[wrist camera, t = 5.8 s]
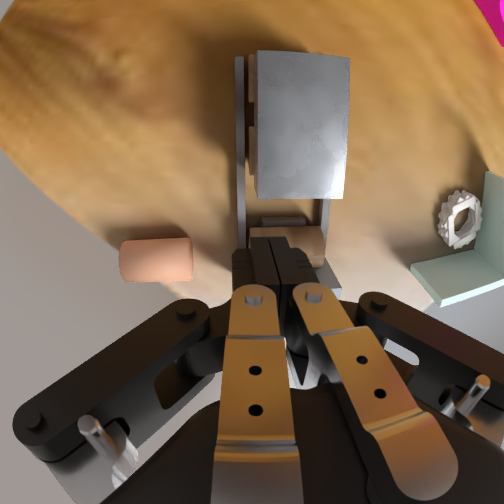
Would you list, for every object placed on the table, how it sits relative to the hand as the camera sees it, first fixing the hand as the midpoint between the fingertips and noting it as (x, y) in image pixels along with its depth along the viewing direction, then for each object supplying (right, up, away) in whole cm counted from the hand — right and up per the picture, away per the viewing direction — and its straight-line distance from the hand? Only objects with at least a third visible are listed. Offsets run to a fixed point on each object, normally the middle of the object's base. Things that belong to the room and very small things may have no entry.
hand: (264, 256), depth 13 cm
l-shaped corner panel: (+24, +4, +18) cm, 30 cm away
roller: (-9, +1, +13) cm, 16 cm away
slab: (+3, +10, +8) cm, 13 cm away
